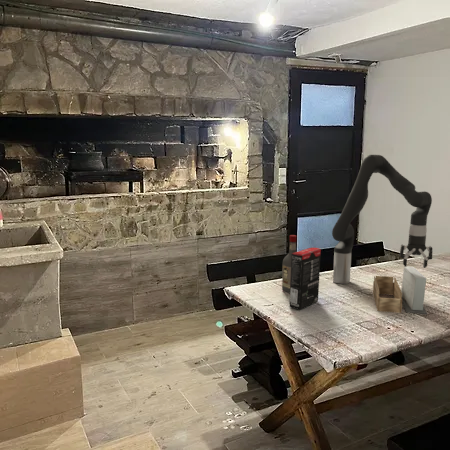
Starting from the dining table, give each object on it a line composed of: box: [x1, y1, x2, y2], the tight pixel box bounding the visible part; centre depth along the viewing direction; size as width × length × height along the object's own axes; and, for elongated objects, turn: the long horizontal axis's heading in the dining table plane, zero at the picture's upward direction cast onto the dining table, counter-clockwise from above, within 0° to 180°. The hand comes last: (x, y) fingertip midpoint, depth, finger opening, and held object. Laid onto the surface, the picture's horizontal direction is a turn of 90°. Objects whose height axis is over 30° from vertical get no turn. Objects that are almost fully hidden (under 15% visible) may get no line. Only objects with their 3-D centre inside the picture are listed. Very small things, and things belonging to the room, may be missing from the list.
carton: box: [372, 275, 403, 314], centre depth 222 cm, size 11×27×10 cm, turn 167°
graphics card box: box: [288, 247, 322, 311], centre depth 218 cm, size 17×7×27 cm, turn 139°
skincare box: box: [400, 265, 427, 310], centre depth 219 cm, size 21×5×16 cm, turn 173°
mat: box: [402, 298, 428, 315], centre depth 220 cm, size 9×25×1 cm, turn 167°
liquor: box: [281, 234, 297, 294], centre depth 239 cm, size 9×9×30 cm
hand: (414, 266), depth 217 cm, fingers open, 8 cm apart
